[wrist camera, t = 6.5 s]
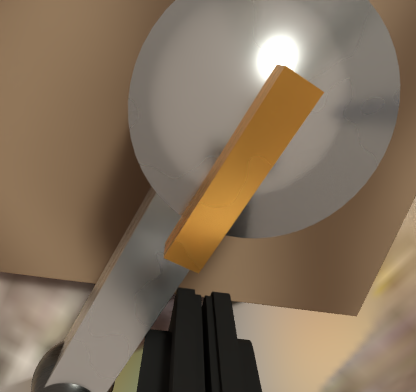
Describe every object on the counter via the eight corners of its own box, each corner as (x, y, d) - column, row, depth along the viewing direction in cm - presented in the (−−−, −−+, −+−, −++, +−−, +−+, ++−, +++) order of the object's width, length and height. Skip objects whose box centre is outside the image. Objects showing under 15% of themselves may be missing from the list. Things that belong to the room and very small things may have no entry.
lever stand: (538, -147, 9) (867, -329, 5) (341, 291, 15) (405, 393, 10) (-117, -382, 7) (-643, -1124, 3) (-51, 238, 13) (-175, 339, 8)
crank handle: (212, -56, 8) (245, -184, 4) (350, 47, 9) (505, 46, 5) (25, 322, 12) (-67, 478, 8) (133, 361, 13) (108, 516, 9)
